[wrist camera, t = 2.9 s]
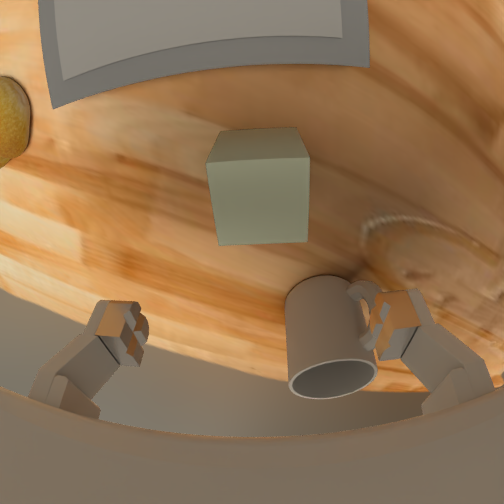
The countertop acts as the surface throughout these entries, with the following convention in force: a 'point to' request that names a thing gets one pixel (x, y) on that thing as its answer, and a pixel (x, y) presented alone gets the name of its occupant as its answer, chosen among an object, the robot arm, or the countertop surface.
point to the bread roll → (13, 120)
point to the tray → (190, 38)
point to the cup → (329, 337)
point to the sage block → (259, 186)
